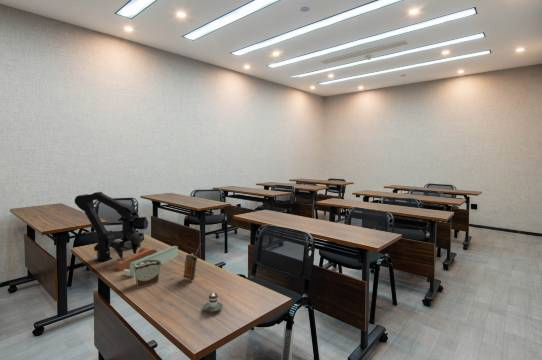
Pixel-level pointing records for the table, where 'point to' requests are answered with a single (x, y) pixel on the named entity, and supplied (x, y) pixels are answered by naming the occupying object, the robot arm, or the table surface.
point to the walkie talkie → (190, 266)
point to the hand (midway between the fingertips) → (128, 256)
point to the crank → (135, 258)
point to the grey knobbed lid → (212, 303)
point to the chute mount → (155, 258)
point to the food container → (147, 272)
